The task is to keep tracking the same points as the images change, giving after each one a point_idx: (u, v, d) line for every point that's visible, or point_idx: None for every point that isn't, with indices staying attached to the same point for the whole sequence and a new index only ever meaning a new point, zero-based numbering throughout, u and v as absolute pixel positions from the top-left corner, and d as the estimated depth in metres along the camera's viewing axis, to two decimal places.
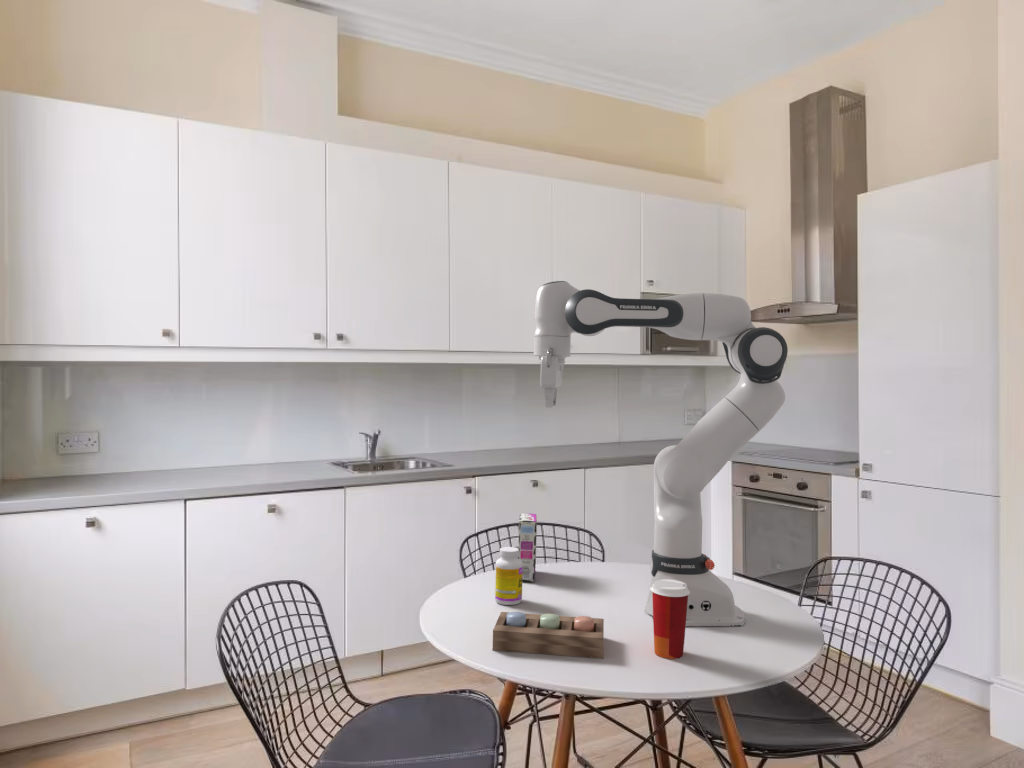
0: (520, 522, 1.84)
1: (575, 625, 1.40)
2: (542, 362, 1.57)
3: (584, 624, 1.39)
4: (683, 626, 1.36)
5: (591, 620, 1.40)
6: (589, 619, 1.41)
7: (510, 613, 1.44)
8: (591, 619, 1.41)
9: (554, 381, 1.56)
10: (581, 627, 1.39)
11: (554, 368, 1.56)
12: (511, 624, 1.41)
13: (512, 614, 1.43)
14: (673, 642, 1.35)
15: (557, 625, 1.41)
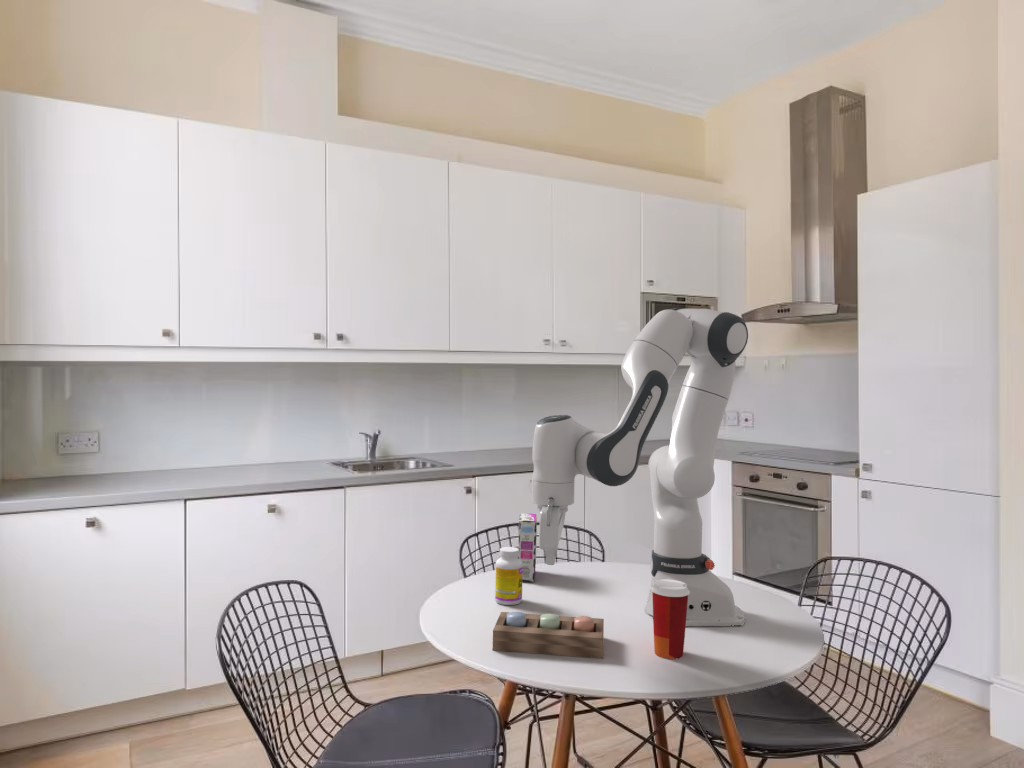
0: (520, 522, 1.84)
1: (575, 625, 1.40)
2: (541, 519, 1.32)
3: (584, 624, 1.39)
4: (683, 626, 1.36)
5: (591, 620, 1.40)
6: (589, 619, 1.41)
7: (510, 613, 1.44)
8: (591, 619, 1.41)
9: (555, 543, 1.32)
10: (581, 627, 1.39)
11: (555, 527, 1.32)
12: (511, 624, 1.41)
13: (512, 614, 1.43)
14: (673, 642, 1.35)
15: (557, 625, 1.41)
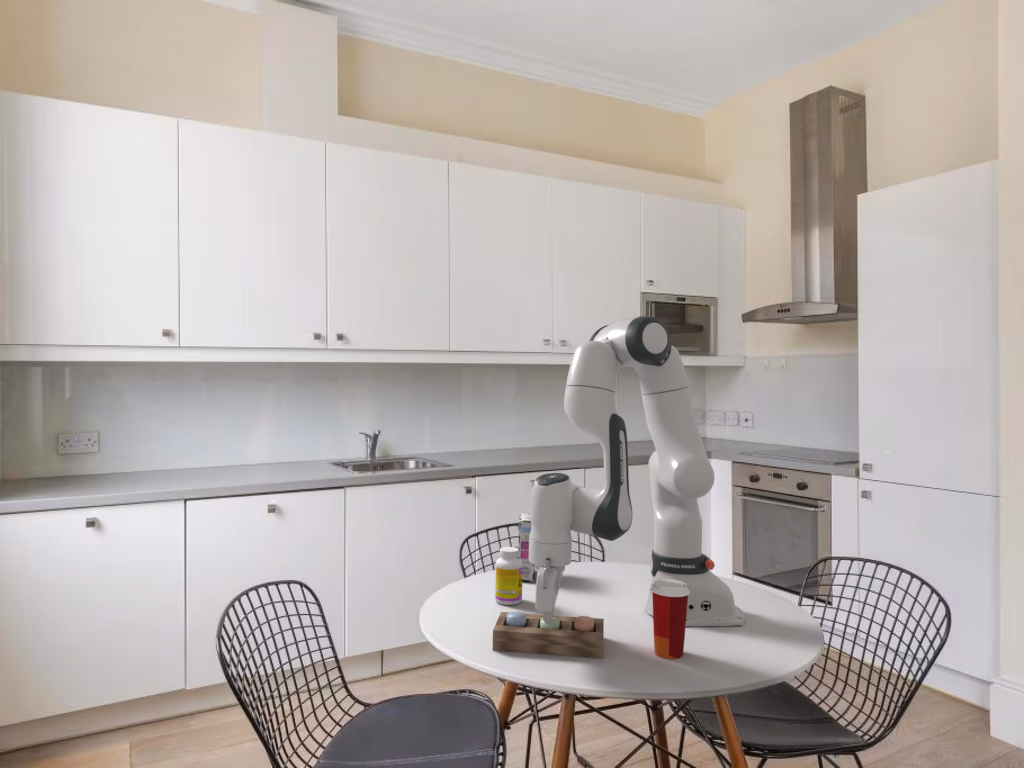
0: (520, 522, 1.84)
1: (575, 625, 1.40)
2: (538, 582, 1.33)
3: (584, 624, 1.39)
4: (683, 626, 1.36)
5: (591, 620, 1.40)
6: (589, 619, 1.41)
7: (510, 613, 1.44)
8: (591, 619, 1.41)
9: (552, 606, 1.32)
10: (581, 627, 1.39)
11: (552, 590, 1.32)
12: (511, 624, 1.41)
13: (512, 614, 1.43)
14: (673, 642, 1.35)
15: (557, 628, 1.41)
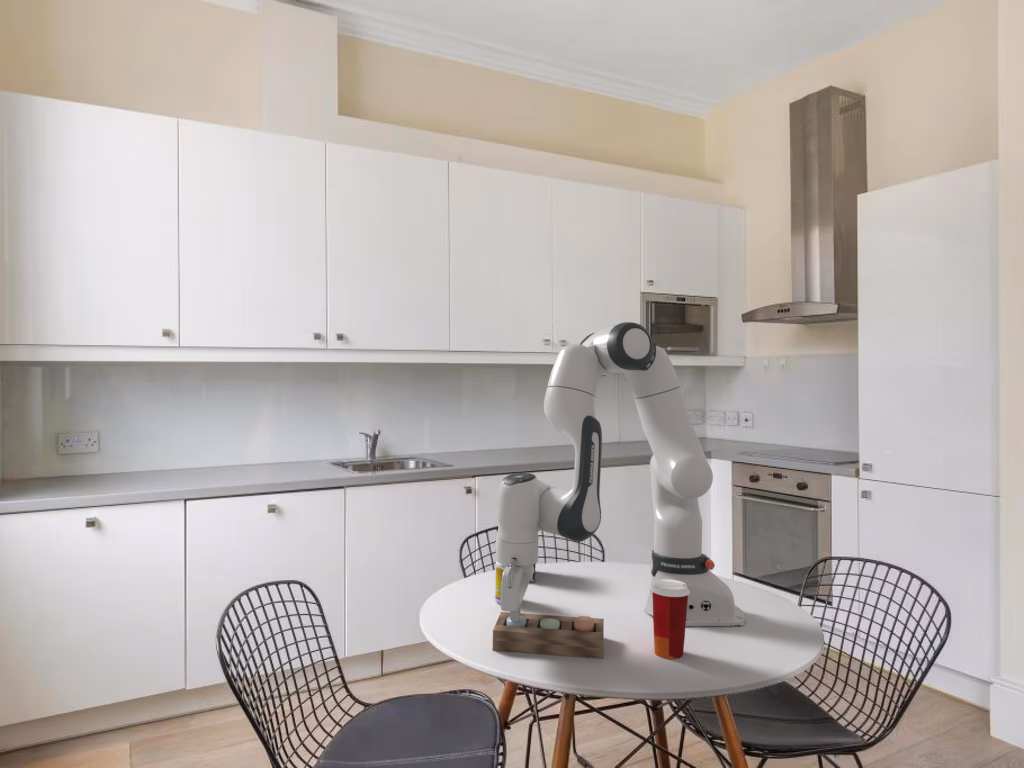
0: None
1: (575, 625, 1.40)
2: (503, 581, 1.34)
3: (584, 624, 1.39)
4: (683, 626, 1.36)
5: (591, 620, 1.40)
6: (589, 619, 1.41)
7: None
8: (591, 619, 1.41)
9: (516, 605, 1.33)
10: (581, 627, 1.39)
11: (517, 589, 1.33)
12: None
13: None
14: (673, 642, 1.35)
15: None
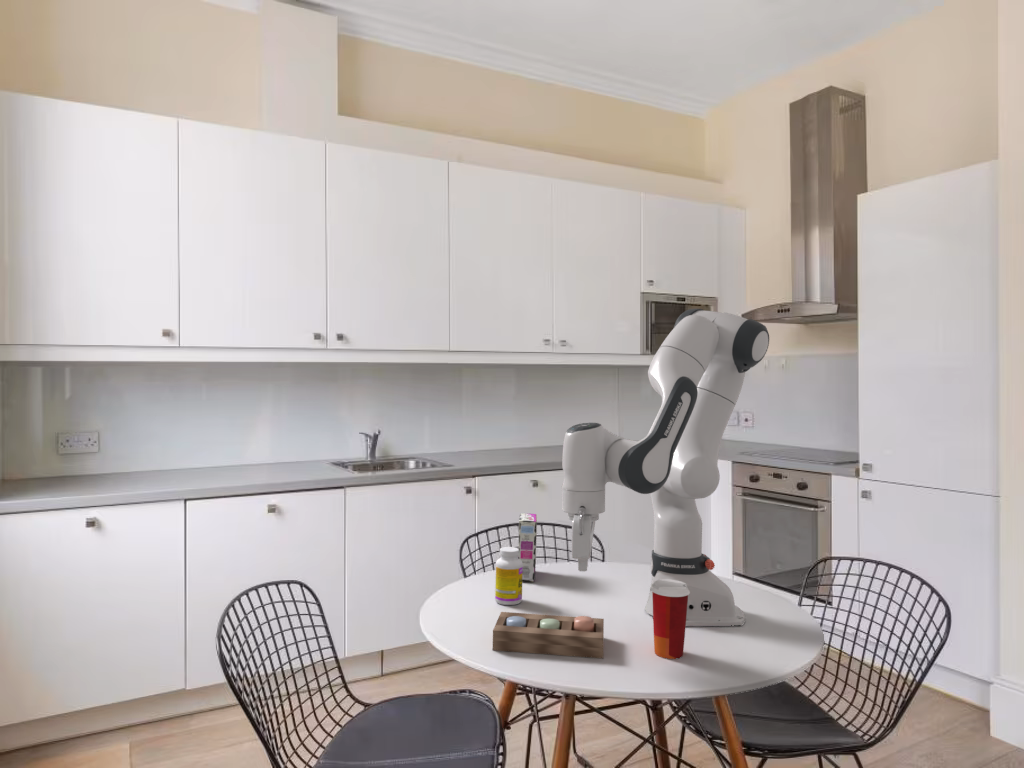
0: (520, 522, 1.84)
1: (575, 625, 1.40)
2: (573, 529, 1.32)
3: (584, 624, 1.39)
4: (683, 626, 1.36)
5: (591, 620, 1.40)
6: (589, 619, 1.41)
7: (510, 617, 1.44)
8: (591, 619, 1.41)
9: (588, 552, 1.31)
10: (581, 627, 1.39)
11: (588, 536, 1.31)
12: None
13: (512, 619, 1.43)
14: (673, 642, 1.35)
15: None
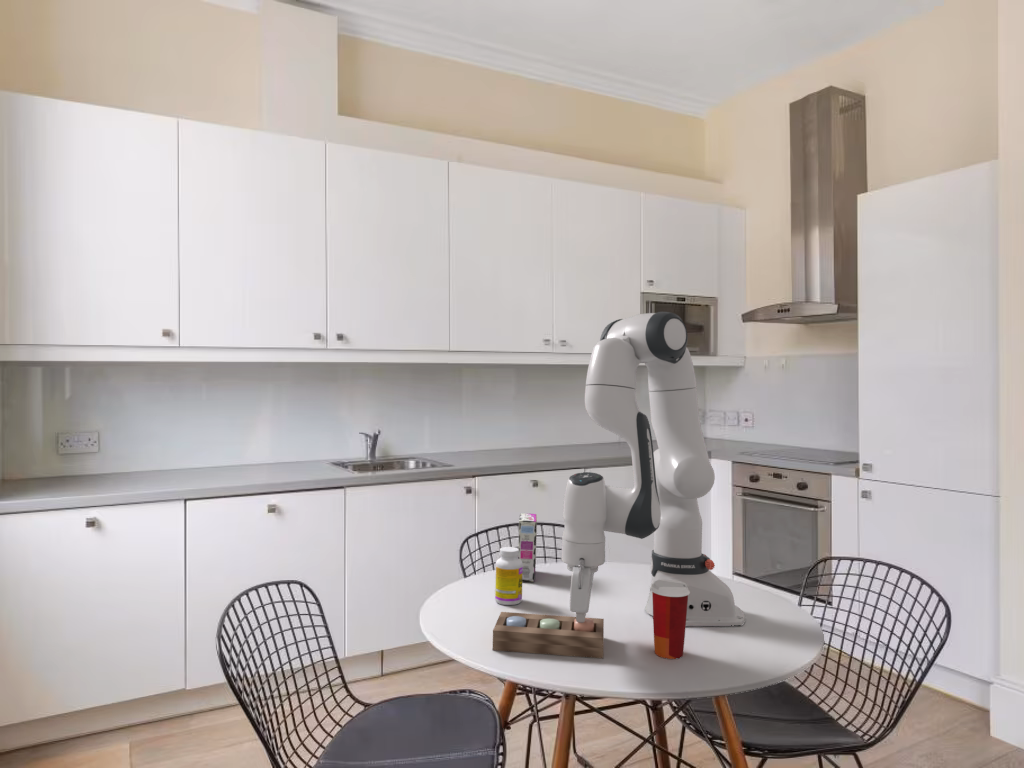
0: (520, 522, 1.84)
1: (575, 626, 1.40)
2: (572, 582, 1.32)
3: (584, 625, 1.39)
4: (683, 626, 1.36)
5: (591, 621, 1.40)
6: (589, 621, 1.41)
7: (510, 617, 1.44)
8: (591, 620, 1.41)
9: (586, 606, 1.31)
10: (581, 629, 1.39)
11: (587, 590, 1.31)
12: None
13: (512, 619, 1.43)
14: (673, 642, 1.35)
15: None
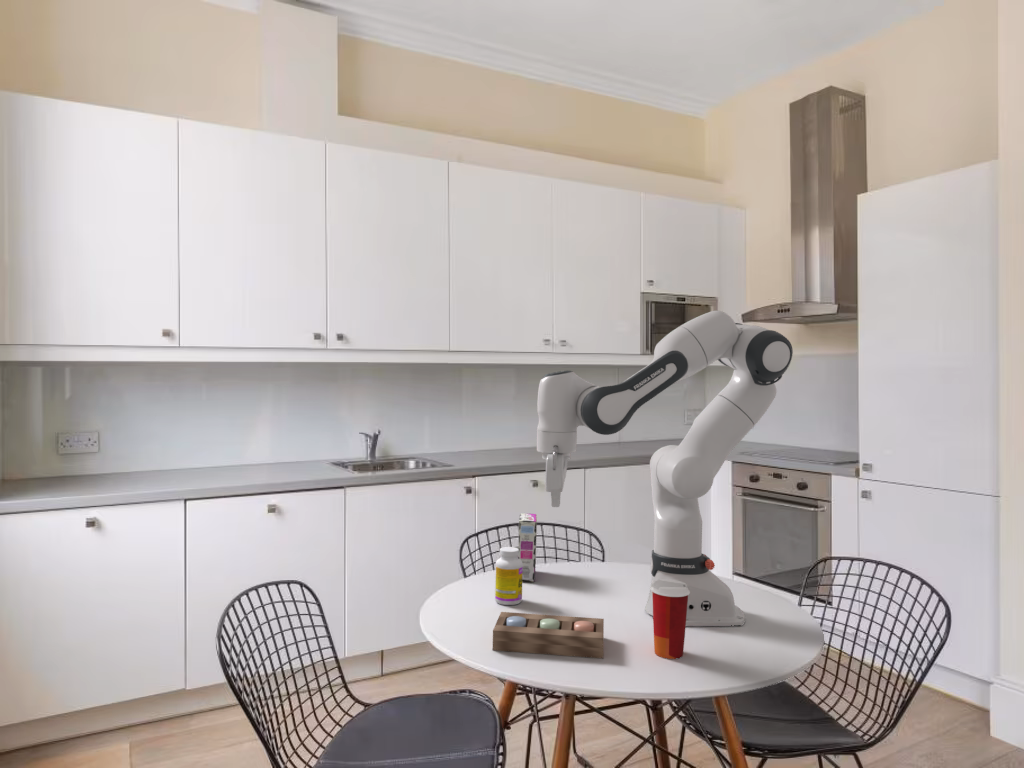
0: (520, 522, 1.84)
1: (575, 630, 1.40)
2: (547, 464, 1.43)
3: (584, 629, 1.39)
4: (683, 626, 1.36)
5: (591, 625, 1.40)
6: (589, 624, 1.41)
7: (510, 617, 1.44)
8: (591, 624, 1.41)
9: (561, 485, 1.43)
10: None
11: (561, 471, 1.43)
12: None
13: (512, 619, 1.43)
14: (673, 642, 1.35)
15: None
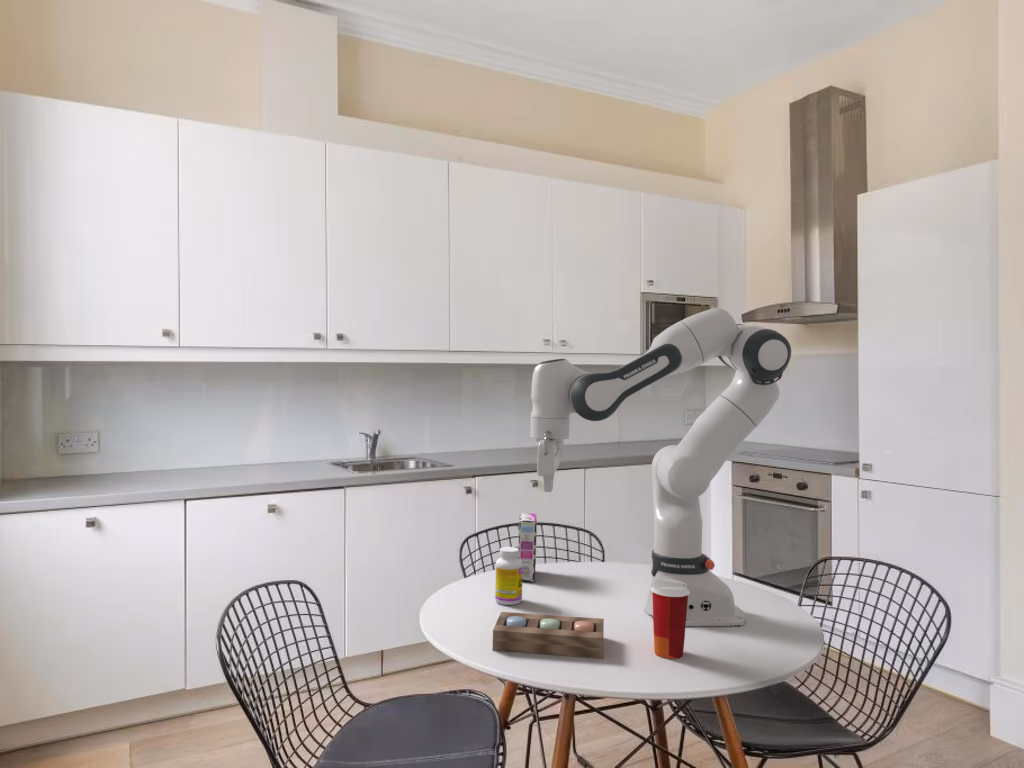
0: (520, 522, 1.84)
1: (575, 630, 1.40)
2: (539, 449, 1.47)
3: (584, 629, 1.39)
4: (683, 626, 1.36)
5: (591, 625, 1.40)
6: (589, 624, 1.41)
7: (510, 617, 1.44)
8: (591, 624, 1.41)
9: (552, 470, 1.46)
10: None
11: (552, 456, 1.46)
12: None
13: (512, 619, 1.43)
14: (673, 642, 1.35)
15: None
